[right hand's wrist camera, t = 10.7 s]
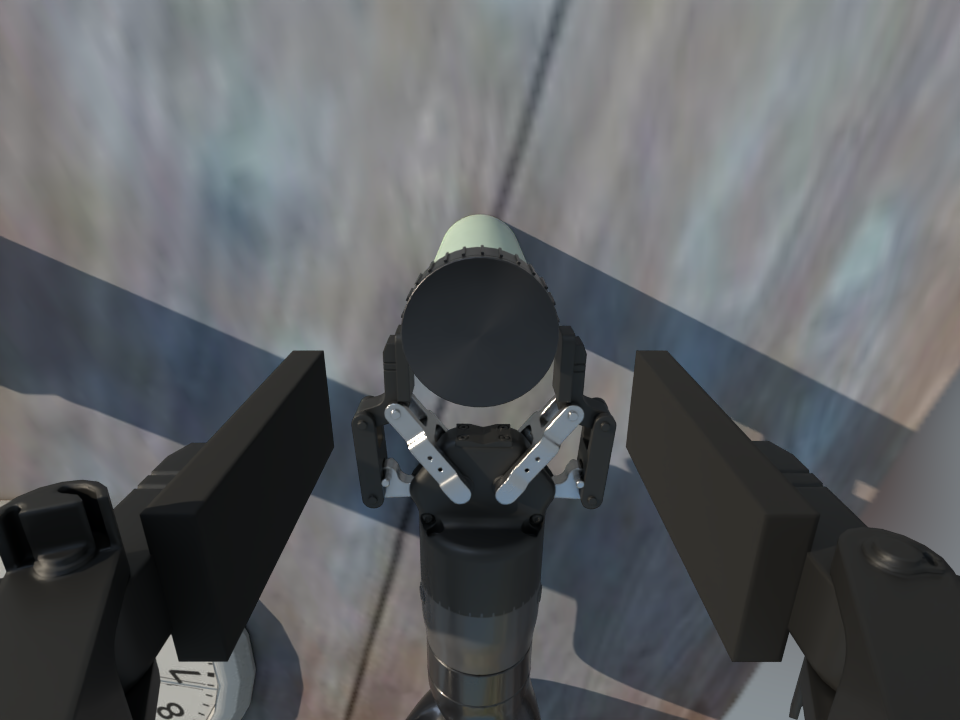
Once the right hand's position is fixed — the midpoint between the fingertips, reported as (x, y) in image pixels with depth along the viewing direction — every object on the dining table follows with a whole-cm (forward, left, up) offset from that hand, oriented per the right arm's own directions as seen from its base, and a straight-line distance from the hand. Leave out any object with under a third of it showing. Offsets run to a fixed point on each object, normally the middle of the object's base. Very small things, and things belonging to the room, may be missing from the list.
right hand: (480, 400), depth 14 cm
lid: (0, 0, -6) cm, 6 cm away
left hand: (0, +3, -15) cm, 15 cm away
